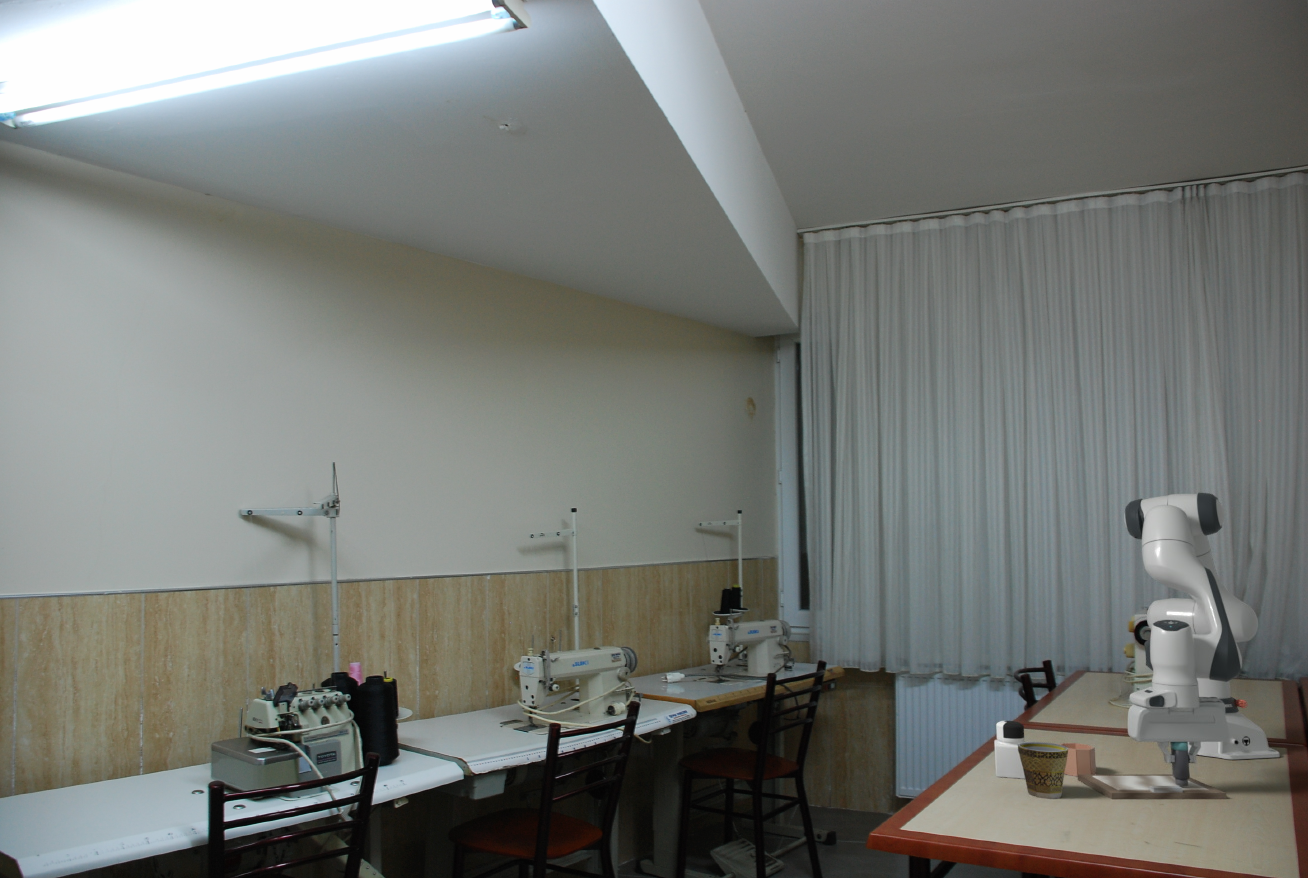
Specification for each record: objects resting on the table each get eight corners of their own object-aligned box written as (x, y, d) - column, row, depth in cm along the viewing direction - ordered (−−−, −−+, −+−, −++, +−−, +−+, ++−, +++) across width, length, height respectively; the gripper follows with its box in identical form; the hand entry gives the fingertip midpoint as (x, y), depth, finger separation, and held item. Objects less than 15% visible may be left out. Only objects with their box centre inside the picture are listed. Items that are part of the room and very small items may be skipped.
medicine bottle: (1027, 772, 218) (1025, 720, 219) (1029, 779, 211) (1026, 725, 212) (995, 770, 220) (993, 718, 221) (996, 777, 213) (993, 723, 215)
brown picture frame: (1183, 779, 210) (1183, 769, 210) (1226, 798, 194) (1225, 787, 195) (1077, 779, 210) (1077, 769, 211) (1111, 798, 194) (1111, 788, 195)
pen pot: (1085, 768, 221) (1084, 742, 222) (1100, 776, 214) (1099, 749, 214) (1054, 768, 221) (1053, 742, 222) (1068, 776, 214) (1066, 749, 214)
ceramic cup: (1081, 798, 195) (1078, 749, 196) (1041, 802, 192) (1038, 752, 193) (1039, 783, 207) (1037, 737, 208) (1001, 787, 204) (999, 740, 205)
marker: (1185, 782, 200) (1182, 739, 201) (1193, 786, 197) (1190, 742, 198) (1169, 782, 200) (1167, 739, 201) (1178, 786, 197) (1175, 742, 198)
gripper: (1215, 694, 204) (1219, 759, 202) (1122, 694, 204) (1126, 759, 202) (1232, 699, 198) (1237, 766, 196) (1136, 699, 198) (1140, 766, 196)
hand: (1180, 762), depth 199 cm, fingers closed on marker, 3 cm apart
